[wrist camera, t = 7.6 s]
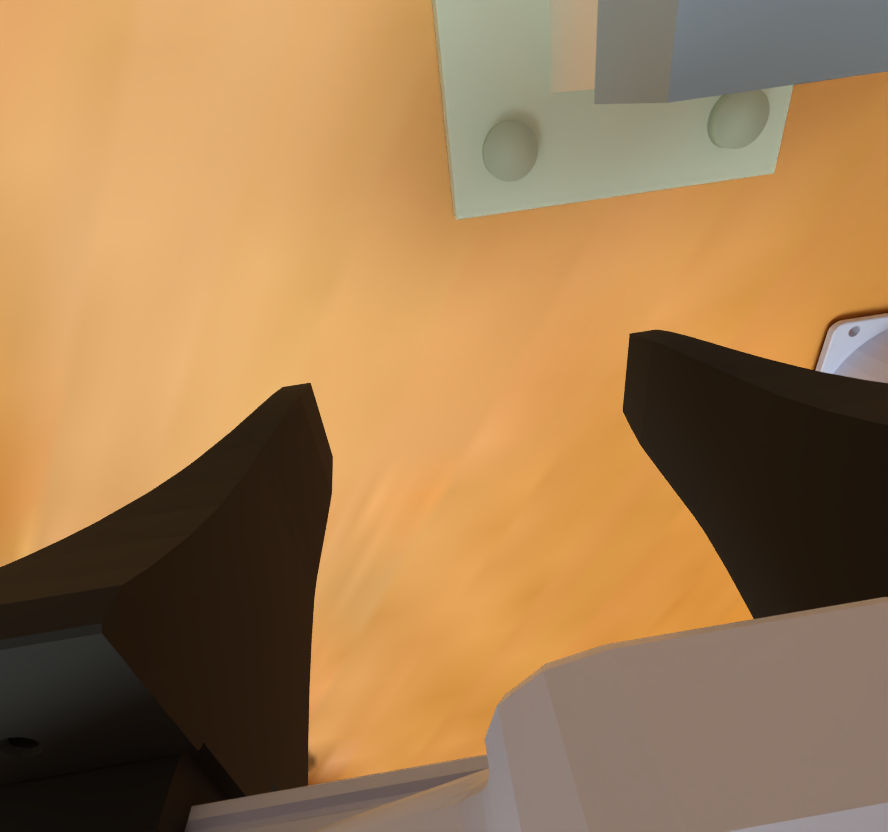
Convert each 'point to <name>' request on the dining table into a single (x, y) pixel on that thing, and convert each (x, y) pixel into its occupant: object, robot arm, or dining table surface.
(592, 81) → the cream block
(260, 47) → the dining table surface
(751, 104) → the baseplate
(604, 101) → the blue block
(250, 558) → the robot arm
